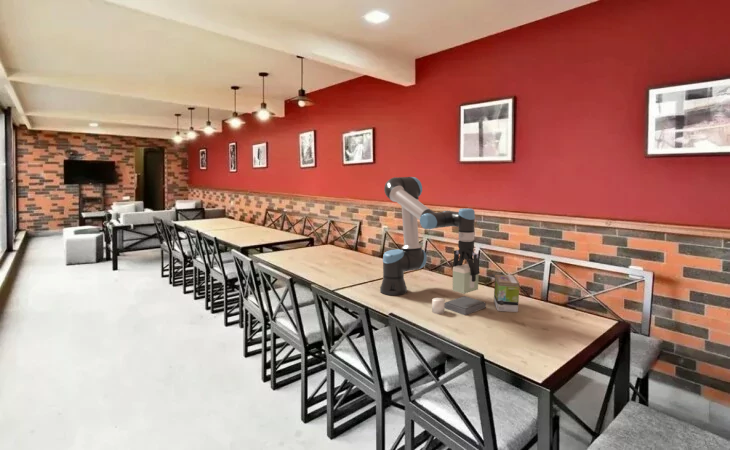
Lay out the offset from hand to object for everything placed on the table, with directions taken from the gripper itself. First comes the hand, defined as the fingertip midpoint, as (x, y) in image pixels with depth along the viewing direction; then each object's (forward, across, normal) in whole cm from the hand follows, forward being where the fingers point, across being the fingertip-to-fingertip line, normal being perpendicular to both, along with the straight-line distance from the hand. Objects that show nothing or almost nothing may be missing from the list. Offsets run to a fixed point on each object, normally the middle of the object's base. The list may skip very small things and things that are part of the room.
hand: (465, 285), depth 196 cm
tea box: (+12, +12, +17) cm, 24 cm away
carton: (+2, 0, 0) cm, 2 cm away
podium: (+11, 0, 0) cm, 11 cm away
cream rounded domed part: (+11, -5, -14) cm, 19 cm away
